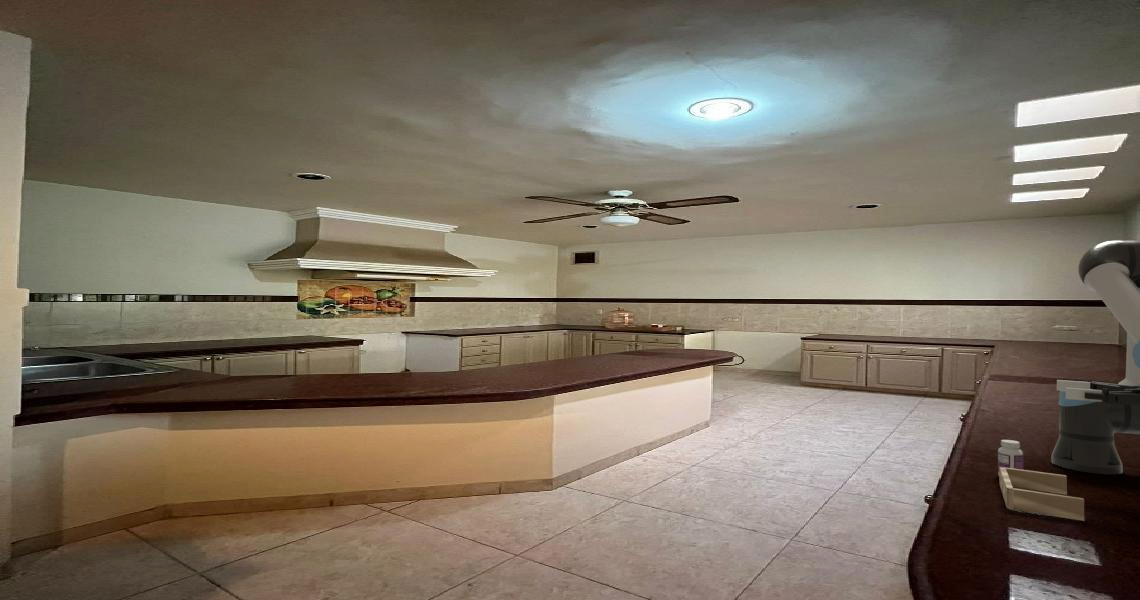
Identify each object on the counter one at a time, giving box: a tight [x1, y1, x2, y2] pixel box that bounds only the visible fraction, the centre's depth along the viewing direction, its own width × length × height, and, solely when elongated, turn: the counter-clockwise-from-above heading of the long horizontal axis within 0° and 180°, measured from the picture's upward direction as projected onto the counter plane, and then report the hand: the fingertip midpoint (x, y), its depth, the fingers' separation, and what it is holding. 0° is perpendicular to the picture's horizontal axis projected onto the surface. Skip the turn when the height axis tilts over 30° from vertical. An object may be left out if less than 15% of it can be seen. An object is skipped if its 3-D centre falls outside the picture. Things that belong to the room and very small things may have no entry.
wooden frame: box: [998, 467, 1085, 522], centre depth 133 cm, size 22×13×4 cm, turn 146°
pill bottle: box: [997, 439, 1024, 476], centre depth 152 cm, size 5×5×10 cm
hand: (1061, 388), depth 146 cm, fingers open, 13 cm apart
